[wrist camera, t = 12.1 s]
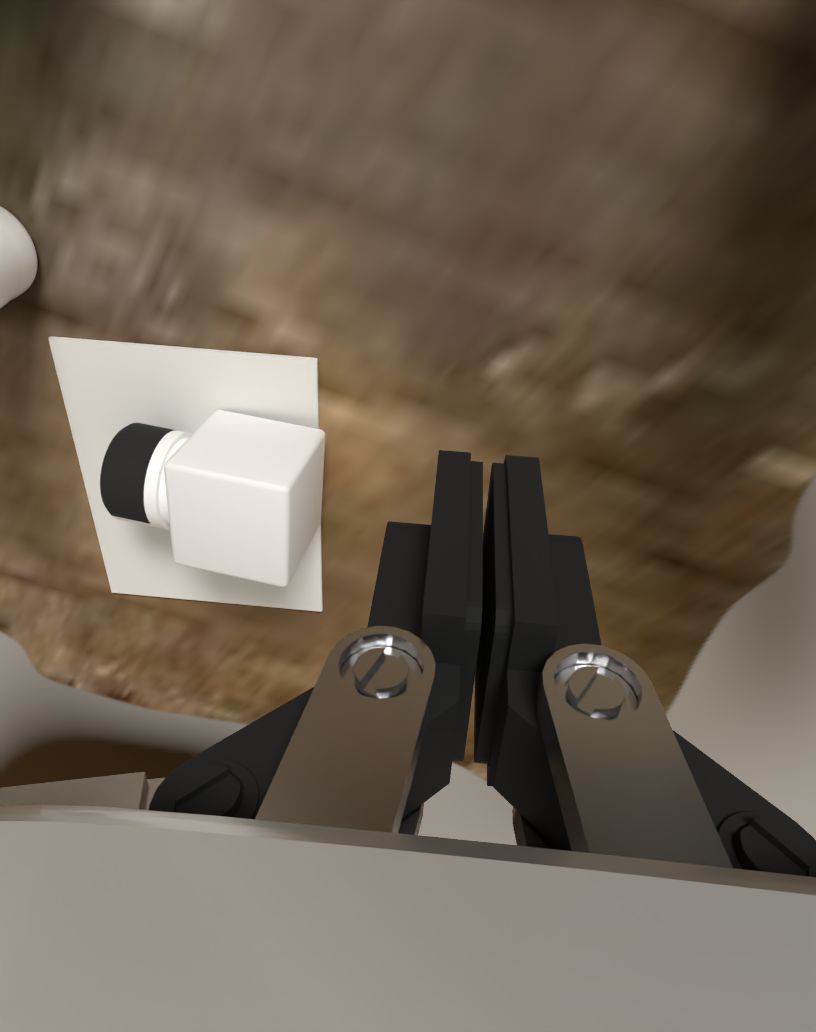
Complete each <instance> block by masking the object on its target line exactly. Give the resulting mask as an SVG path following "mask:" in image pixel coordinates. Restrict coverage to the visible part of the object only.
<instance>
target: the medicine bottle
mask: <svg viewBox="0 0 816 1032" xmlns="http://www.w3.org/2000/svg"><path fill="white" fill-rule="evenodd" d="M324 450H325V433H324V431H323V430H321V429H316V428H311V427H306V426H300V425H295V424H290V423H285V422H280V421H275V420H270V419H265V418H260V417H254V416H249V415H244V414H239V413H234V412H229V411H224V410H216V411H215V412H214V413H213V414H212V415H211V416H210V417H209V418H208V419H207V420H206V421H205V422H204V423H203V424H202V425H201V426H200V427H199V428H198V429H197V430H196V431H195V432H194V433H193V434H191V433H188V432H183V431H178V430H173V429H168V428H163V427H158V426H153V425H148V424H143V423H132V424H130V425H128V426H126V427H124V428H123V429H121V430H120V431H119V432H118V433H117V434H116V435H115V436H114V438H113V439H112V441H111V443H110V444H109V446H108V448H107V451H106V453H105V456H104V459H103V463H102V468H101V474H100V492H101V497H102V501H103V504H104V506H105V508H106V509H107V510H108V512H109V513H110V514H111V516H113V517H114V518H116V519H118V520H123V521H128V522H132V523H137V524H142V525H146V526H151V527H156V528H161V529H165V530H170V533H171V543H172V553H173V560H174V562H175V563H176V564H179V565H183V566H188V567H192V568H197V569H201V570H206V571H211V572H215V573H220V574H224V575H229V576H234V577H238V578H243V579H247V580H252V581H256V582H261V583H266V584H270V585H275V586H279V587H286V586H287V585H288V584H289V582H290V580H291V578H292V576H293V574H294V572H295V570H296V569H297V567H298V565H299V563H300V561H301V559H302V557H303V555H304V553H305V551H306V550H307V548H308V546H309V544H310V542H311V540H312V538H313V536H314V534H315V532H316V531H317V529H318V527H319V525H320V523H321V510H322V490H323V470H324Z"/></svg>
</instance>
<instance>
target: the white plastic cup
mask: <svg viewBox="0 0 816 1032" xmlns="http://www.w3.org/2000/svg"><path fill="white" fill-rule="evenodd" d="M37 266H38V262H37V254H36V250H35V246H34V244H33V241H32V239H31V237H30V235H29V234H28V232H27V230H26V229H25V227H24V226H23V225H22V224H21V222H20V221H19V220H18V219H17V218H16V217H15V216H14V215H12V214H11V213H10V212H9V211H7V210H6V209H5V208H3V207H1V206H0V309H1V308H2V307H3V306H4V305H6V304H7V303H8V302H10V301H11V300H13V299H15V298H16V297H18V296H20V295H21V294H23V293H24V292H25V291H26V290H27V289H28V288H29V287H30V286H31V285H32V283H33V281H34V279H35V276H36V273H37Z"/></svg>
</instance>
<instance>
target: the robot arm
mask: <svg viewBox="0 0 816 1032" xmlns="http://www.w3.org/2000/svg"><path fill="white" fill-rule="evenodd" d="M474 678H475V714H474V762H475V763H486V764H487V786H494V788H495V789H496V790H497V791H498V792H499V793H500V794H501V795H502V796H503V797H504V798H505V799H506V800H507V801H508V802H509V803H510V804H511V805H512V806H513V810H512V811H513V812H512V813H513V828H514V833H515V838H516V843H517V846H516V845H505V844H496V843H486V842H477V841H467V840H457V839H447V838H438V837H428V836H418V833H419V828H420V824H421V820H422V816H423V806H424V802H425V801H427V800H428V799H429V798H430V797H432V796H433V795H434V794H436V793H437V792H438V791H440V790H441V789H442V788H443V787H445V786H446V785H448V784H449V783H450V774H451V766H452V760H455V761H463V760H464V753H465V745H466V738H467V730H468V723H469V715H470V708H471V700H472V693H473V685H474ZM0 1032H816V840H815V839H814V838H813V837H812V836H811V835H810V834H809V833H807V832H806V831H805V830H804V829H803V828H802V827H801V826H800V825H798V823H796V822H795V821H794V820H792V819H791V818H790V817H788V816H787V815H786V814H784V813H783V812H782V811H780V810H779V809H778V808H776V807H775V806H774V805H772V804H771V803H770V802H768V801H767V800H766V799H764V798H763V797H762V796H760V795H759V794H758V793H756V792H755V791H753V790H752V789H751V788H750V787H748V786H747V785H745V784H744V783H743V782H742V781H740V780H739V779H738V778H736V777H735V776H734V775H732V774H731V773H729V772H728V771H727V770H726V769H724V768H723V767H722V766H720V765H719V764H717V763H716V762H715V761H714V760H712V759H711V758H710V757H708V756H707V755H705V754H704V753H703V752H702V751H700V750H699V749H697V748H696V747H695V746H694V745H692V744H691V743H690V742H688V741H687V740H685V739H684V738H683V737H681V736H680V735H679V734H677V733H676V732H675V731H673V730H672V728H671V726H670V723H669V721H668V719H667V717H666V714H665V712H664V710H663V707H662V705H661V703H660V701H659V698H658V696H657V694H656V692H655V689H654V687H653V685H652V683H651V681H650V679H649V678H648V676H647V675H646V673H645V672H644V670H643V669H642V668H641V667H640V666H639V665H637V664H636V663H635V662H634V661H633V660H632V659H631V658H629V657H627V656H625V655H624V654H622V653H620V652H618V651H616V650H614V649H610V648H607V647H604V646H601V640H600V635H599V629H598V624H597V619H596V613H595V608H594V603H593V597H592V592H591V587H590V581H589V576H588V570H587V565H586V560H585V554H584V549H583V544H582V541H581V539H580V538H579V537H575V536H562V535H550V534H548V528H547V520H546V512H545V504H544V496H543V488H542V480H541V471H540V463H539V458H535V457H522V456H508V455H506V456H505V460H504V464H502V463H492V468H491V476H490V484H489V492H488V500H487V508H486V517H485V525H484V533H483V462H475V461H471V453H468V452H455V451H442V450H439V455H438V465H437V475H436V485H435V494H434V504H433V514H432V524H431V525H425V524H412V523H400V522H388V523H387V527H386V532H385V538H384V543H383V548H382V553H381V559H380V564H379V569H378V575H377V580H376V585H375V591H374V596H373V601H372V606H371V612H370V617H369V622H368V627H367V628H362V629H359V630H357V631H354V632H352V633H349V634H348V635H346V636H345V637H344V638H343V639H341V640H340V641H339V642H337V643H336V645H335V646H334V648H333V649H332V651H331V652H330V654H329V656H328V658H327V660H326V662H325V665H324V667H323V669H322V671H321V674H320V676H319V678H318V680H317V682H316V685H315V687H313V688H311V689H310V690H308V691H306V692H304V693H303V694H301V695H299V696H297V697H296V698H294V699H292V700H291V701H289V702H287V703H285V704H284V705H282V706H280V707H279V708H277V709H275V710H273V711H272V712H270V713H268V714H266V715H265V716H263V717H261V718H260V719H258V720H256V721H254V722H253V723H251V724H249V725H247V726H246V727H244V728H242V729H241V730H239V731H237V732H235V733H234V734H232V735H230V736H228V737H227V738H225V739H223V740H222V741H220V742H218V743H216V744H215V745H213V746H212V747H210V748H208V749H206V750H204V751H203V752H201V753H199V754H197V755H196V756H194V757H192V758H191V759H189V760H187V761H185V762H184V763H182V764H181V765H180V766H179V767H177V768H176V769H174V770H173V771H172V772H171V773H169V774H168V775H167V776H166V778H159V779H150V780H147V778H146V774H145V772H140V773H132V774H123V775H115V776H105V777H96V778H87V779H78V780H69V781H60V782H51V783H42V784H33V785H24V786H16V787H6V788H0Z"/></svg>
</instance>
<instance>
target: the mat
mask: <svg viewBox="0 0 816 1032" xmlns="http://www.w3.org/2000/svg"><path fill="white" fill-rule="evenodd" d="M48 339H49V343H50V347H51V351H52V355H53V359H54V363H55V367H56V371H57V375H58V379H59V383H60V387H61V391H62V395H63V399H64V403H65V407H66V411H67V415H68V419H69V423H70V427H71V431H72V435H73V439H74V443H75V447H76V451H77V455H78V459H79V463H80V467H81V471H82V475H83V479H84V483H85V487H86V491H87V495H88V499H89V503H90V507H91V511H92V515H93V519H94V523H95V527H96V531H97V535H98V539H99V543H100V547H101V551H102V555H103V559H104V563H105V567H106V571H107V575H108V579H109V583H110V587H111V591H112V593H122V594H133V595H144V596H155V597H166V598H177V599H188V600H199V601H210V602H221V603H232V604H242V605H253V606H264V607H275V608H286V609H297V610H308V611H319V612H322V610H323V602H322V551H321V523H320V525H319V527H318V529H317V531H316V532H315V534H314V536H313V538H312V540H311V542H310V544H309V546H308V548H307V550H306V551H305V553H304V555H303V557H302V559H301V561H300V563H299V565H298V567H297V569H296V570H295V572H294V574H293V576H292V578H291V580H290V582H289V584H288V585H287V586H286V587H279V586H275V585H270V584H266V583H261V582H256V581H252V580H247V579H243V578H238V577H234V576H229V575H224V574H220V573H215V572H211V571H206V570H201V569H197V568H192V567H188V566H183V565H179V564H176V563H175V562H174V560H173V553H172V543H171V533H170V530H165V529H161V528H156V527H151V526H146V525H142V524H137V523H132V522H128V521H123V520H118V519H116V518H114V517H113V516H111V514H110V513H109V512H108V510H107V509H106V508H105V506H104V504H103V501H102V497H101V492H100V474H101V468H102V463H103V459H104V456H105V453H106V451H107V448H108V446H109V444H110V443H111V441H112V439H113V438H114V436H115V435H116V434H117V433H118V432H119V431H120V430H121V429H123V428H124V427H126V426H128V425H130V424H132V423H143V424H148V425H153V426H158V427H163V428H168V429H173V430H178V431H183V432H188V433H191V434H193V433H194V432H195V431H196V430H197V429H198V428H199V427H200V426H201V425H202V424H203V423H204V422H205V421H206V420H207V419H208V418H209V417H210V416H211V415H212V414H213V413H214V412H215V411H216V410H224V411H229V412H234V413H239V414H244V415H249V416H254V417H260V418H265V419H270V420H275V421H280V422H285V423H290V424H295V425H300V426H306V427H311V428H316V429H319V401H318V358H311V357H299V356H286V355H274V354H262V353H249V352H237V351H225V350H213V349H200V348H188V347H176V346H163V345H151V344H139V343H127V342H114V341H102V340H90V339H77V338H65V337H53V336H50V337H49V338H48Z"/></svg>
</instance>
